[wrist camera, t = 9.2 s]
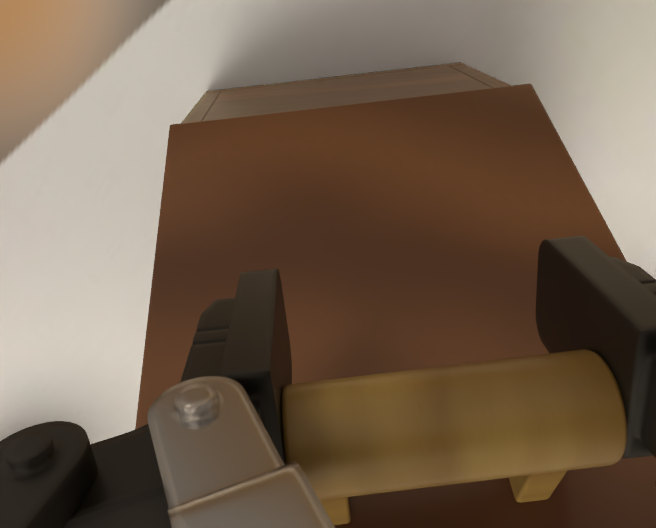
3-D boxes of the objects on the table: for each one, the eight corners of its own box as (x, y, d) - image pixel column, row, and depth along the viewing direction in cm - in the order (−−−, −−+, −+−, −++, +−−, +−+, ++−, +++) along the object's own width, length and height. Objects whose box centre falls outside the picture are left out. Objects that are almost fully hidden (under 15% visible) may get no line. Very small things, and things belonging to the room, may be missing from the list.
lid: (770, 576, 12) (978, 483, 8) (123, 654, 12) (-16, 604, 7) (527, 101, 21) (561, -50, 17) (175, 142, 21) (127, -1, 17)
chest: (462, 318, 36) (512, 413, 28) (252, 343, 36) (241, 446, 28) (461, 62, 29) (524, 90, 21) (205, 91, 29) (174, 130, 21)
